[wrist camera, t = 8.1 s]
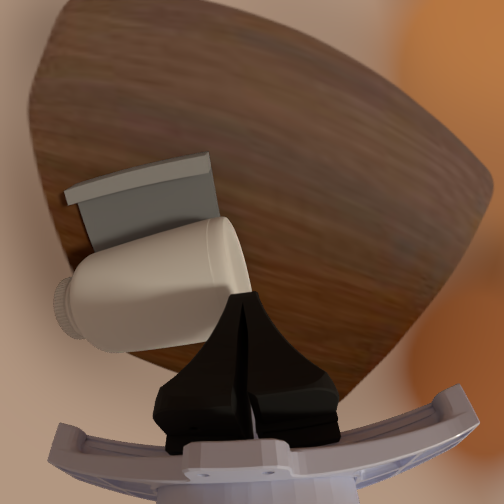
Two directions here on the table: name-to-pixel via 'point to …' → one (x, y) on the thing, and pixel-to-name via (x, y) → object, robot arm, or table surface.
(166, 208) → the grey tray
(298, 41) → the table surface
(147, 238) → the pill bottle
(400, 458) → the robot arm
